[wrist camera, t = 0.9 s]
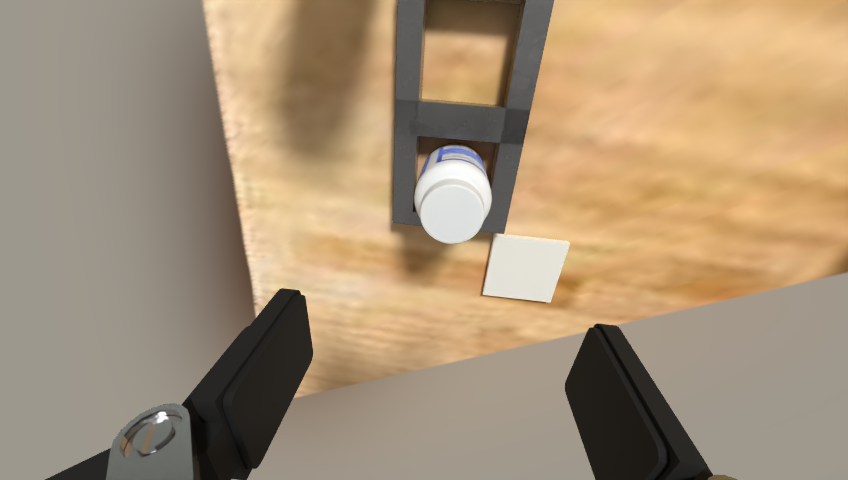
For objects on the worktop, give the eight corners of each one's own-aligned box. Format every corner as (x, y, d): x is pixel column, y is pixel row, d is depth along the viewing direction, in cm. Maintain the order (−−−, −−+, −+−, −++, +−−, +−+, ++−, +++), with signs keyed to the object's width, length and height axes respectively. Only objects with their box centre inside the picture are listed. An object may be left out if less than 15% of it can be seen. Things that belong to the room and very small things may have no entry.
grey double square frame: (551, -18, 21) (559, -26, 19) (501, 224, 30) (503, 234, 28) (403, -27, 21) (398, -35, 20) (396, 213, 30) (392, 222, 28)
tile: (568, 240, 30) (569, 243, 29) (548, 298, 33) (550, 302, 33) (493, 233, 30) (494, 236, 30) (482, 291, 33) (482, 294, 33)
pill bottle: (448, 212, 30) (444, 269, 21) (410, 167, 28) (390, 210, 19) (497, 177, 28) (514, 225, 19) (460, 127, 26) (461, 155, 17)
